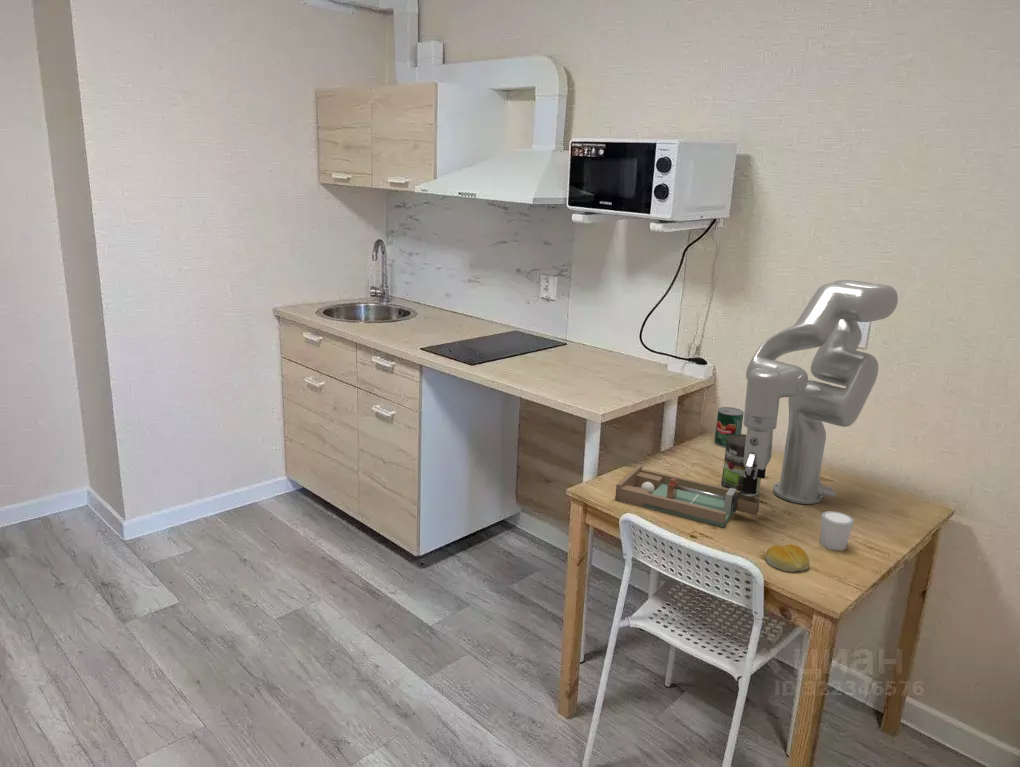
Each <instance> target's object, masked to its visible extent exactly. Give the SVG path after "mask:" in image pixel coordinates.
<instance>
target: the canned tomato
mask: <svg viewBox="0 0 1020 767" xmlns="http://www.w3.org/2000/svg"><path fill="white" fill-rule="evenodd" d="M744 412H745V411H743V410H742V409H739V408H737V407H730V406H724V407H722V406H720V407H719V408H718V409H717V415H716V416H717V417H716V426H715V434H714V444H715V445H717V446H719V447H723V448H726V444H727V441H726V439H727V437H728V436H730V435H734V434H742V431H743V423H744Z"/></svg>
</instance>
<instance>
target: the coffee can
mask: <svg viewBox="0 0 1020 767" xmlns="http://www.w3.org/2000/svg"><path fill="white" fill-rule="evenodd" d="M746 435H747V434H744V433H743V434H742V433H741V434H734V435H730V436H728V437H727V439H726V441H727V444H726V447H725V453H724V462H723V468H722V469H723V470H722V476H721V482H720V487H724V488H729V489H730V488H734V489H737V491H741V495H745V496H749V497H755V496H758V495H759V494H760V488H761V482H762V478H758V477H756V478H757V479H758V480H757V490H756V494H751V493H746V492H743V491H742V487H743V477H744V473H745V469H746V467H745V466H744V451H745V442H746Z"/></svg>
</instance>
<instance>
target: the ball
mask: <svg viewBox="0 0 1020 767" xmlns="http://www.w3.org/2000/svg"><path fill="white" fill-rule="evenodd" d="M640 488H641V489H645V490H649V491H650V492H649V493H650V494H652V493H653V492H654V491H655V490H654V485H653V484H652V483H650V482H645V483H643V484H642V486H641V487H640Z"/></svg>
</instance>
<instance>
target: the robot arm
mask: <svg viewBox="0 0 1020 767" xmlns="http://www.w3.org/2000/svg"><path fill="white" fill-rule="evenodd" d="M898 302H899V295H898V292H897V289H895V288H894V287H893V286H892V285H888V284H884V283H883V284H882V283H876V282H875V283H874V282H866V281H861V280H852V279H839V280H836V281H833V282H829V283H825V284H823V285H821V286H820V287H818V289H817V290H816V291H815V293H814V294H813V296H812V297H811V299H810V301H809V302H808V303H807V305H806V307H805V309H804V310H803V311H802V312H801V315H800V316H799V317H798V319H797V320H796V322H795V323H794V324H793V325H791V326H789V327H788V328H784V329H782V330H781V331H779V332H777V333H775V334H774V335H772V336H771V337H770V336H769V338H767V339H766V340H765V341H763V342H762V343H761V345H760V346H759V347H758V349H757V350H756V351H755V353H754V355H753V356H752V358H751V360H750V361H749V363H748V365H747V368H746V374H745V377H746V380H747V383H746V393H745V401H744V402H745V403H744V404H745V405H744V411H743V412H744V414H743V423H742V425H743V426H744V427H745V428H746V434H745V435H746V442H745V451H744V466H745V467H746V469H745V473H744V477H743V487H742V491H743V492H746V493H751V494H756V490H757V480H758V479H757V478H756V477H758V478H761V479H765V478H766V468H767V467H768V465H769V463H770V461H771V458H772V453H773V451H772V450H773V441H774V440H773V439H774V437H773V436H774V430H775V429H776V428H777V424H778V416H779V407H780V406H779V405H780V399H782V398H788V400H787V401H788V404H787V405H788V426H787V433H786V439H785V445H784V452H783V460H782V465H781V474H780V479H779V480H780V481H778V482H776V483H775V484H773V486H772V492H773V493H774V495H776V496H777V497H779V498H780V499H782V500H784V501H788V502H791V503H795V504H800V505H801V504H803V505H814V504H817V503H818V504H819V503H820V502H821V501H823V497H828V498H832V499H835V498H836V492H837V491H836V490H833V487H831V486H825V485H823V484H822V479H820V476H821V470H822V464H823V459H824V457H823V456H824V452H825V446H826V440H827V433H826V432H827V431H826V429H825V425H824V423H827V424H830V425H833V426H834V425H835V426H837V427H838V426H839V427H843V428H844V427H845V428H846V427H851V426H852V425H853V424H854V423H855V422H856V421H857V419H858V417H859V416H860V414H861V412H862V411H863V408H864V406H865V404H866V401H867V399H868V398H869V396H870V393H871V392H872V389H873V387H874V386H875V383H876V380H877V377H878V375H879V362H878V359H877V358H876V357H875V356H874V355H872V354H870V353H869V352H865V351H860V350H858V348H859V345H860V343H861V341H862V338H863V337H862V330H861V328H860V325H859V323H872V322H877V321H880V320H884V319H887V318H888V317H890V316H891V315H892V314H893V313H894V311H895V310H896V308H897V305H898ZM858 322H859V323H858ZM815 348H818V349H817V351H816V353H815V355H814V356H813V359H812V361H811V364H810V373H811V375H813V377H814V378H816V379H817V380H819V381H816V380H811V379H809V377H808V372H807V371H806V370H805V369H804V368H802V367H800V366H797V365H795V364H790V363H786V362H783V361H778V360H777V359H778V358H780V357H781V356H783V355H787V354H789V353H792V352H797V351H805V350H809V349H815ZM820 380H821V381H822V382H820ZM823 381H824V382H823ZM830 383H831V384H834V385H831V384H830ZM837 385H838V386H837ZM840 386H842V387H840ZM844 387H845V388H844ZM823 422H824V423H823Z"/></svg>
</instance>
